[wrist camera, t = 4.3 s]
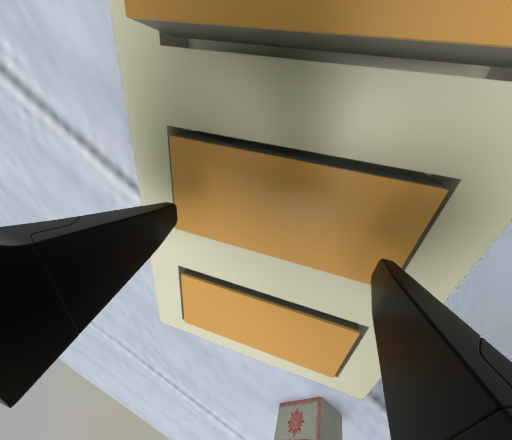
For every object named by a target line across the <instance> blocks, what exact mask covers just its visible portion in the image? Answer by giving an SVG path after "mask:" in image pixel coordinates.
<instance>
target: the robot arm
mask: <svg viewBox="0 0 512 440" xmlns="http://www.w3.org/2000/svg"><path fill="white" fill-rule="evenodd" d="M177 220H178V218H177V206H176V205H175V204H174V203H170V202H163V203H157V204H151V205H145V206H139V207H133V208H127V209H120V210H114V211H108V212H102V213H96V214H90V215H84V216H82V217H81V216H77V217H71V218H65V219H58V220H51V221H44V222H36V223H28V224H20V225H12V226H4V227H0V403H2V404H3V405H5V406H7V407H9V408H11V407H12V406H14V405H15V404H16V403H17V402H18V401H19V400H20V399H21V398H22V396H23V395H24V394H25V393H26V392H27V391H28V390H29V389H30V388H31V387H32V385H33V384H34V383H35V382H36V381H37V380H38V379H39V378H40V377H41V376H42V375H43V373H44V372H45V371H46V370H47V369H48V368H49V367H50V366H51V365H52V364H53V363H54V362H55V361H56V359H57V358H58V357H59V356H60V355H61V354H62V353H63V352H64V351H65V350H66V349H67V347H68V346H69V345H70V344H71V343H72V342H73V341H74V340H75V339H76V338H77V337H78V335H79V334H80V333H81V332H82V331H83V330H84V329H85V328H86V327H87V325H88V324H89V323H90V322H91V321H92V320H93V319H94V318H95V317H96V316H97V315H98V313H99V312H100V311H101V310H102V309H103V308H104V307H105V306H106V305H107V304H108V303H109V301H110V300H111V299H112V298H113V297H114V296H115V295H116V294H117V293H118V292H119V291H120V290H121V288H122V287H123V286H124V285H125V284H126V283H127V282H128V281H129V280H130V279H131V278H132V276H133V275H134V274H135V273H136V272H137V271H138V270H139V269H140V268H141V267H142V266H143V264H144V263H145V262H146V261H147V260H148V259H149V258H150V257H151V256H152V255H153V254H154V253H155V251H156V250H157V249H158V248H159V247H160V245H161V244H162V243H163V242H164V240H165V239H166V237H167V236H168V235H169V233H170V232H171V231H172V229H173V228H174V227H175V225H176V224H177ZM371 304H372V319H373V325H374V332H375V338H376V345H377V351H378V358H379V364H380V371H381V377H382V384H383V390H384V397H385V403H386V410H387V416H388V423H389V429H390V436H391V440H512V362H511V361H510V360H508V359H507V358H506V357H505V356H504V355H502V354H501V353H500V352H499V351H498V350H496V349H495V348H494V347H493V346H492V345H491V344H489V343H488V342H487V341H486V340H485V339H484V338H480V335H479V334H478V333H476V332H475V331H474V330H473V329H472V328H471V327H469V326H468V325H467V324H466V323H465V322H464V321H462V320H461V319H460V318H459V317H458V316H457V315H455V314H454V313H453V312H452V311H451V310H450V309H448V308H447V307H446V306H445V305H444V304H443V303H441V302H440V301H439V300H438V299H437V298H436V297H434V296H433V295H432V294H431V293H430V292H429V291H427V290H426V289H425V288H424V287H423V286H422V285H420V284H419V283H418V282H417V281H416V280H415V279H413V278H412V277H411V276H410V275H409V274H408V273H406V272H405V271H404V270H403V269H402V268H401V267H399V266H398V265H397V264H396V263H395V262H394V261H391V260H387V259H383V258H382V259H380V260H379V262H378V264H377V265H376V267H375V269H374V271H373V273H372V276H371Z"/></svg>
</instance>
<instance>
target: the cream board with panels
mask: <svg viewBox="0 0 512 440" xmlns="http://www.w3.org/2000/svg"><path fill="white" fill-rule="evenodd" d="M109 5H110V11H111V18H112V24H113V30H114V36H115V42H116V48H117V55H118V61H119V67H120V73H121V79H122V86H123V92H124V98H125V104H126V110H127V116H128V123H129V129H130V135H131V141H132V147H133V154H134V160H135V166H136V172H137V178H138V184H139V191H140V197H141V203H142V206H145V205H151V204H157V203H163V202H170V203H174V194H173V181H172V169H171V156H170V143H169V136H171V135H176V134H181V133H186V132H191V131H201V132H206V133H212V134H217V135H222V136H228V137H233V138H239V139H244V140H250V141H255V142H261V143H266V144H271V145H277V146H282V147H288V148H293V149H299V150H304V151H309V152H315V153H320V154H326V155H331V156H337V157H342V158H348V159H353V160H358V161H364V162H369V163H375V164H380V165H386V166H391V167H396V168H402V169H407V170H413V171H418V172H424V173H426V174H427V175H428V176H430V177H431V178H432V179H434V180H435V181H437V182H438V183H439V184H441V185H442V186H444V187H445V188H446V189H448V190H449V191H448V192H447V194H446V196H445V197H444V199H443V201H442V202H441V204H440V206H439V207H438V209H437V210H436V212H435V214H434V215H433V217H432V219H431V220H430V222H429V224H428V225H427V227H426V229H425V230H424V232H423V233H422V235H421V237H420V238H419V240H418V242H417V243H416V245H415V247H414V248H413V250H412V251H411V253H410V255H409V256H408V258H407V260H406V261H405V263H404V265H403V266H402V269H403V270H404V271H405V272H406V273H408V274H409V275H410V276H411V277H412V278H413V279H415V280H416V281H417V282H418V283H419V284H420V285H422V286H423V287H424V288H425V289H426V290H427V291H429V292H430V293H431V294H432V295H433V296H434V297H436V298H437V299H438V300H439V301H440V302H441V303H443V302H444V301H445V300H446V299H447V298H448V296H449V295H450V294H451V293H452V291H453V290H454V289H455V288H456V287H457V285H458V284H459V283H460V282H461V281H462V279H463V278H464V277H465V276H466V275H467V273H468V272H469V271H470V270H471V269H472V267H473V266H474V265H475V264H476V262H477V261H478V260H479V259H480V258H481V256H482V255H483V254H484V253H485V252H486V250H487V249H488V248H489V247H490V246H491V244H492V243H493V242H494V241H495V240H496V238H497V237H498V236H499V235H500V233H501V232H502V231H503V230H504V229H505V227H506V226H507V225H508V224H509V223H510V221H511V220H512V67H509V68H502V67H491V66H480V65H469V64H459V63H448V62H437V61H426V60H416V59H405V58H394V57H383V56H372V55H362V54H351V53H340V52H329V51H319V50H308V49H297V48H286V47H276V46H265V45H254V44H243V43H233V42H222V41H211V40H200V39H190V38H179V37H172V36H170V35H167V34H165V33H163V32H160V31H158V30H156V29H153V28H151V27H149V26H146V25H144V24H142V23H139V22H137V21H135V20H132V19H130V18H128V17H126V12H125V4H124V0H109ZM150 259H151V265H152V271H153V277H154V283H155V289H156V296H157V302H158V308H159V314H160V320H161V322H163V323H166V324H168V325H171V326H173V327H176V328H178V329H181V330H184V331H186V332H189V333H191V334H194V335H197V336H199V337H202V338H204V339H207V340H209V341H212V342H215V343H217V344H220V345H222V346H225V347H228V348H230V349H233V350H235V351H238V352H240V353H243V354H246V355H248V356H251V357H253V358H256V359H259V360H261V361H264V362H266V363H269V364H271V365H274V366H277V367H279V368H282V369H284V370H287V371H290V372H292V373H295V374H297V375H300V376H302V377H305V378H308V379H310V380H313V381H315V382H318V383H321V384H323V385H326V386H328V387H331V388H333V389H336V390H339V391H341V392H344V393H346V394H349V395H352V396H354V397H357V398H359V399H362V400H363V399H364V398H365V397H366V395H367V394H368V393H369V392H370V391H371V389H372V388H373V387H374V386H375V384H376V383H377V382H378V381H379V380H380V378H381V371H380V364H379V358H378V351H377V345H376V338H375V332H374V325H373V319H372V304H371V285H369V284H366V283H362V282H359V281H355V280H352V279H348V278H345V277H341V276H338V275H334V274H331V273H328V272H324V271H321V270H317V269H314V268H310V267H307V266H303V265H300V264H296V263H293V262H289V261H286V260H282V259H279V258H275V257H272V256H268V255H265V254H261V253H258V252H254V251H251V250H247V249H244V248H240V247H237V246H234V245H230V244H227V243H223V242H220V241H216V240H213V239H209V238H206V237H202V236H199V235H195V234H192V233H188V232H185V231H181V230H178V229H176V225H175V227H174V228H173V229H172V231H171V232H170V233H169V235H168V236H167V237H166V239H165V240H164V242H163V243H162V244H161V245H160V247H159V248H158V249H157V250H156V251H155V253H154V254H153V255H152V256H151V257H150ZM186 268H188V269H191V270H194V271H197V272H200V273H203V274H206V275H210V276H213V277H216V278H219V279H222V280H225V281H228V282H231V283H234V284H237V285H240V286H244V287H247V288H250V289H253V290H256V291H259V292H262V293H265V294H268V295H271V296H274V297H278V298H281V299H284V300H287V301H290V302H293V303H296V304H299V305H302V306H305V307H309V308H312V309H315V310H318V311H321V312H324V313H327V314H330V315H333V316H336V317H339V318H343V319H346V320H349V321H352V322H355V323H358V324H359V332H360V334H359V336H358V338H357V339H356V341H355V342H354V344H353V346H352V347H351V349H350V351H349V352H348V354H347V356H346V357H345V359H344V361H343V362H342V364H341V366H340V367H339V369H338V371H337V372H336V374H335V376H334V377H333V378H331V377H328V376H326V375H323V374H321V373H318V372H315V371H313V370H310V369H307V368H305V367H302V366H299V365H297V364H294V363H291V362H289V361H286V360H283V359H281V358H278V357H276V356H273V355H270V354H268V353H265V352H262V351H260V350H257V349H254V348H252V347H249V346H246V345H244V344H241V343H239V342H236V341H233V340H231V339H228V338H225V337H223V336H220V335H217V334H215V333H212V332H209V331H207V330H204V329H202V328H199V327H196V326H194V325H191V324H188V323H186V322H184V309H183V295H182V282H181V274H182V273H183V272H184V270H185V269H186Z"/></svg>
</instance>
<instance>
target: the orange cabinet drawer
mask: <svg viewBox="0 0 512 440" xmlns="http://www.w3.org/2000/svg"><path fill="white" fill-rule="evenodd" d="M181 282H182V295H183V309H184V322H186V323H188V324H191V325H194V326H196V327H199V328H202V329H204V330H207V331H209V332H212V333H215V334H217V335H220V336H223V337H225V338H228V339H231V340H233V341H236V342H239V343H241V344H244V345H246V346H249V347H252V348H254V349H257V350H260V351H262V352H265V353H268V354H270V355H273V356H276V357H278V358H281V359H283V360H286V361H289V362H291V363H294V364H297V365H299V366H302V367H305V368H307V369H310V370H313V371H315V372H318V373H321V374H323V375H326V376H328V377H331V378H333V377H334V376H335V374H336V372H337V371H338V369H339V367H340V366H341V364H342V362H343V361H344V359H345V357H346V356H347V354H348V352H349V351H350V349H351V347H352V346H353V344H354V342H355V341H356V339H357V338H358V336H359V334H360V332H359V324H358V323H355V322H352V321H349V320H346V319H343V318H339V317H336V316H333V315H330V314H327V313H324V312H321V311H318V310H315V309H312V308H309V307H305V306H302V305H299V304H296V303H293V302H290V301H287V300H284V299H281V298H278V297H274V296H271V295H268V294H265V293H262V292H259V291H256V290H253V289H250V288H247V287H244V286H240V285H237V284H234V283H231V282H228V281H225V280H222V279H219V278H216V277H213V276H210V275H206V274H203V273H200V272H197V271H194V270H191V269H188V268H186V269H185V270H184V272H183V273H182V274H181Z"/></svg>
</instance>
